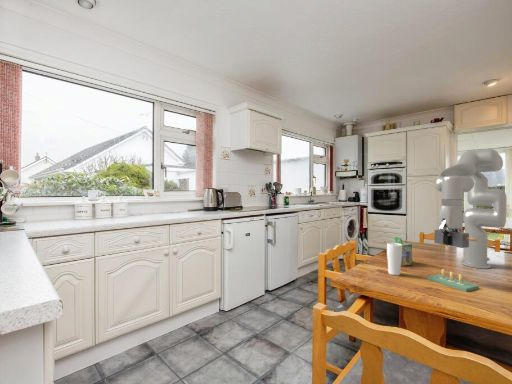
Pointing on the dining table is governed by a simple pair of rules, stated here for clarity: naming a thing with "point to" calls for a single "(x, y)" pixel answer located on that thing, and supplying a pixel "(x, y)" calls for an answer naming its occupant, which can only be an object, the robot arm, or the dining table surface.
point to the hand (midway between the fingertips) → (451, 243)
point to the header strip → (453, 281)
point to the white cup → (394, 258)
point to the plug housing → (454, 238)
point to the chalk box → (405, 252)
